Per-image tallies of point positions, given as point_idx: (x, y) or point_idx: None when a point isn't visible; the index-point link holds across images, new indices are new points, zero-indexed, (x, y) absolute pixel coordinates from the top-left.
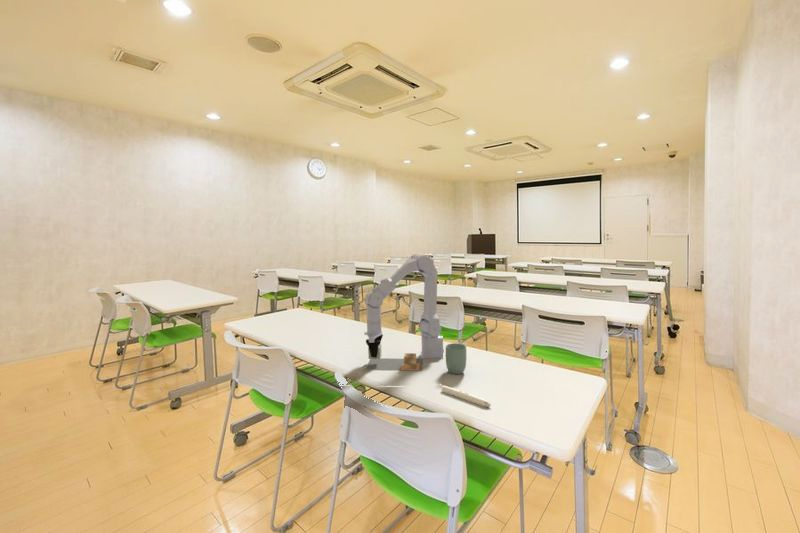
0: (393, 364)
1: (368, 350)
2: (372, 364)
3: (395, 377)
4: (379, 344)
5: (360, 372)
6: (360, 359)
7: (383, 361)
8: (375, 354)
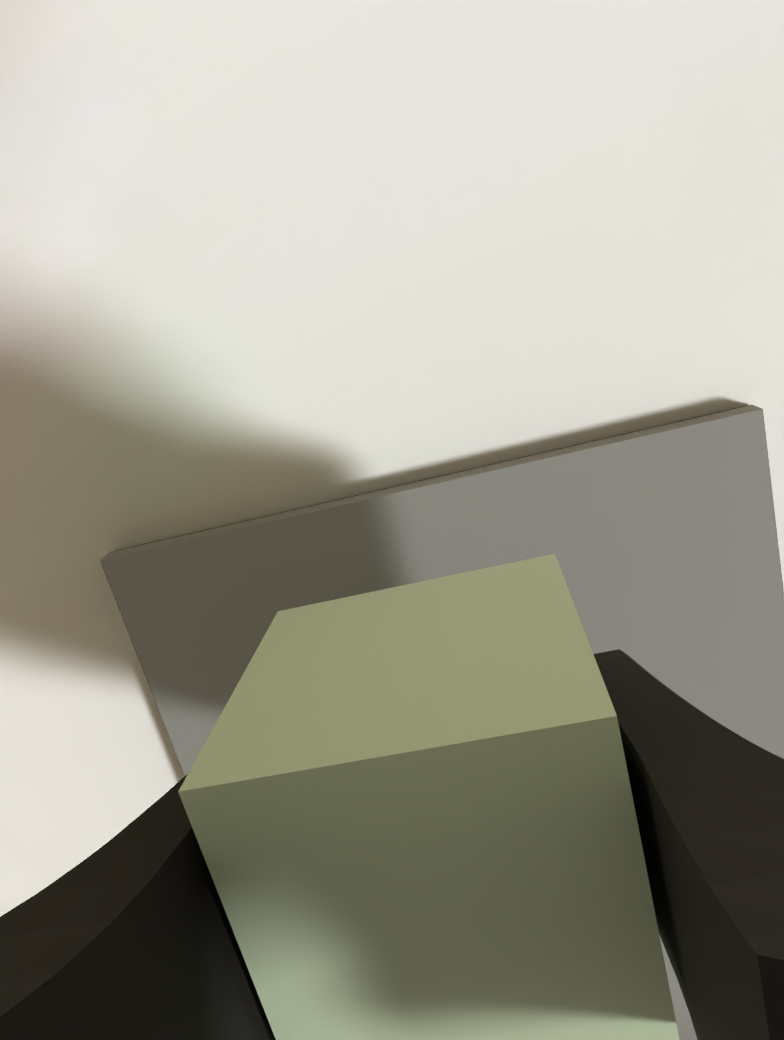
0: None
1: (209, 738)
2: None
3: None
4: (689, 1009)
5: (27, 501)
6: (709, 155)
7: None
8: None
